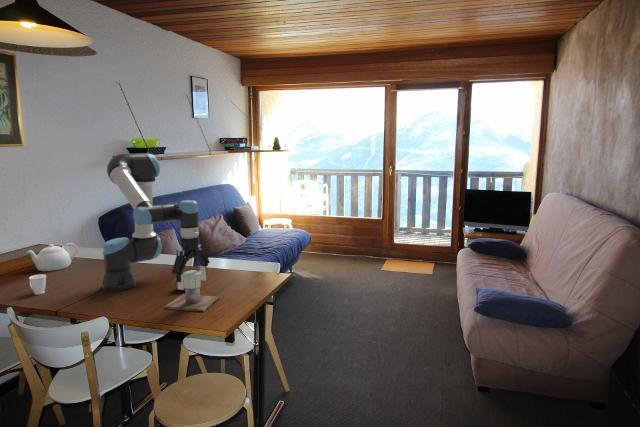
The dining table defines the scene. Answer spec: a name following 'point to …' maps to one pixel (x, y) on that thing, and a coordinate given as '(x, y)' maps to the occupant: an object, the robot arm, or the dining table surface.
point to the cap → (192, 279)
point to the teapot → (52, 258)
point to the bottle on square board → (192, 301)
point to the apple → (177, 284)
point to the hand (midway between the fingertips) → (192, 284)
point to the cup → (38, 283)
